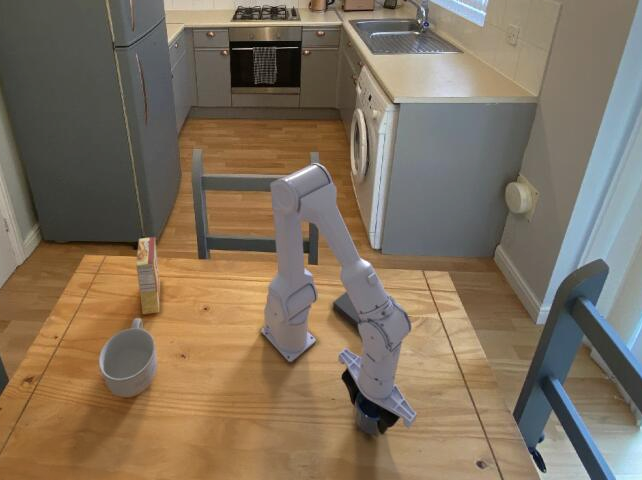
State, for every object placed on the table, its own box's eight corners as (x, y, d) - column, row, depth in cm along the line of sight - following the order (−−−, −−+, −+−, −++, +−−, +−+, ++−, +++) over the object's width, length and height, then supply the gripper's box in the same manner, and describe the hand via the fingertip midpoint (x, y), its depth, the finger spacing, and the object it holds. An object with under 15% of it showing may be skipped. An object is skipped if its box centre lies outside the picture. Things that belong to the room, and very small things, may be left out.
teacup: (146, 411, 79) (141, 384, 76) (93, 400, 81) (87, 372, 78) (171, 344, 92) (168, 318, 89) (125, 335, 94) (121, 310, 91)
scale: (330, 309, 99) (331, 299, 98) (359, 286, 105) (360, 276, 104) (374, 348, 90) (376, 336, 89) (403, 320, 96) (405, 309, 95)
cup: (347, 416, 77) (349, 401, 75) (365, 397, 80) (368, 382, 78) (371, 443, 73) (374, 427, 71) (390, 421, 76) (393, 406, 74)
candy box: (144, 285, 107) (137, 238, 101) (161, 283, 107) (155, 236, 101) (142, 315, 99) (135, 265, 93) (160, 312, 99) (154, 263, 93)
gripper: (431, 384, 68) (418, 434, 73) (358, 321, 78) (351, 370, 84) (407, 413, 64) (395, 464, 69) (333, 343, 74) (327, 392, 80)
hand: (369, 414), depth 76 cm, fingers closed on cup, 5 cm apart
